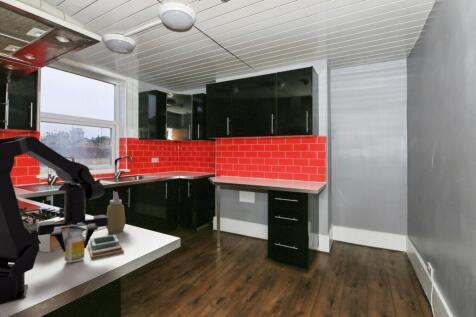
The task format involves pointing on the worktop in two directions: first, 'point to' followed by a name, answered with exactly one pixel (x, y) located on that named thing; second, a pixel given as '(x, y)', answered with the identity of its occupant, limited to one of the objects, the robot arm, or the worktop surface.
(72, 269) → the worktop surface
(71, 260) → the supplement bottle
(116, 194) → the squeeze bottle
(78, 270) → the worktop surface
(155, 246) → the worktop surface
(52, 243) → the small box
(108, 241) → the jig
